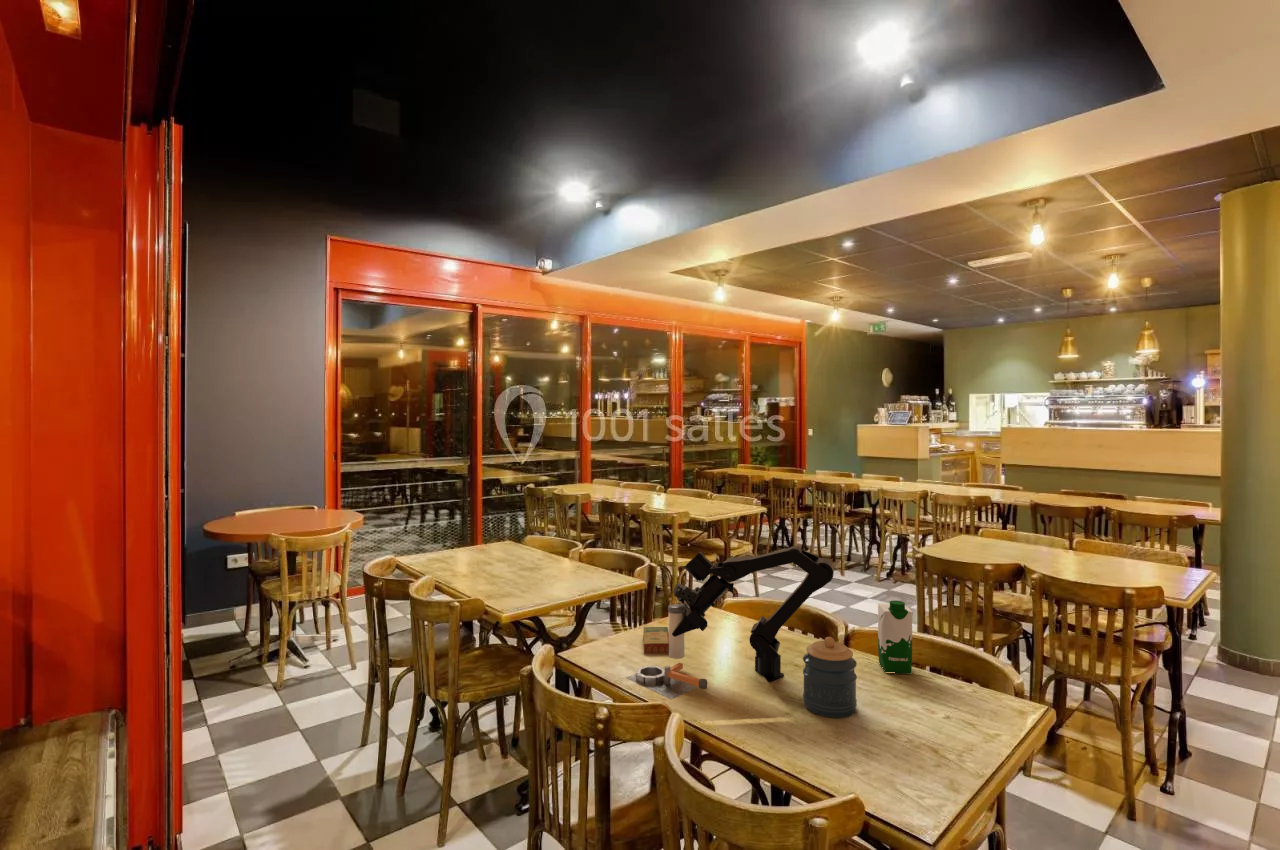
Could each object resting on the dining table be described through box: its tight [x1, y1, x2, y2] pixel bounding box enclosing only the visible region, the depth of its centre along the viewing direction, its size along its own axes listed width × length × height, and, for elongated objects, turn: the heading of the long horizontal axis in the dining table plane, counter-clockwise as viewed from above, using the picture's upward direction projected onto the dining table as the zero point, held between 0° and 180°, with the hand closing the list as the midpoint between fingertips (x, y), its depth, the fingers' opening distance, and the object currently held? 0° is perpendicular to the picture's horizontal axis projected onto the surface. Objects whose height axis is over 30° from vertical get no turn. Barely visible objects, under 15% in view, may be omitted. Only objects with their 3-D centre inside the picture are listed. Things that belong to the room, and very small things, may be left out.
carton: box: [642, 626, 669, 654], centre depth 201 cm, size 8×16×4 cm, turn 0°
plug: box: [667, 603, 686, 660], centre depth 181 cm, size 5×5×14 cm
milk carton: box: [877, 600, 914, 674], centre depth 182 cm, size 9×9×20 cm
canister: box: [802, 636, 858, 719], centre depth 158 cm, size 13×13×18 cm
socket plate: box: [625, 665, 698, 700], centre depth 171 cm, size 18×10×3 cm, turn 41°
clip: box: [664, 662, 708, 690], centre depth 169 cm, size 13×8×4 cm, turn 52°
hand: (671, 632), depth 181 cm, fingers closed on plug, 4 cm apart
